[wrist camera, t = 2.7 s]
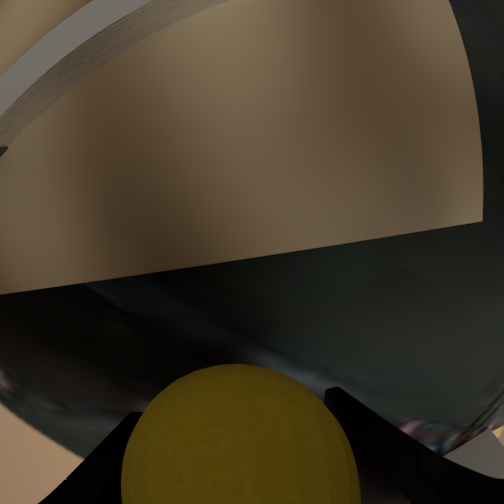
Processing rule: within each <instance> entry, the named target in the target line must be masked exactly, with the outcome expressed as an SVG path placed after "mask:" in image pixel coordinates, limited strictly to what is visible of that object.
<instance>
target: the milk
mask: <svg viewBox="0 0 504 504" xmlns="http://www.w3.org/2000/svg"><path fill="white" fill-rule="evenodd" d="M443 457H445V458H447V459H449V460H451V461H453V462H455V463H457V464H460V465H462V466H464V467H467V468H469V469H472V470H474V471H476V472H479V473H481V474H484V475H487V476H490V477H493V478H500V479H504V446H503V445H502V443H501V442H500V441H499V440H498V438H497V437H496V436H495V435H494V433H493V432H492V431H491V430H490V429H489V428H487V429H486V430H485V431H483V432H482V433H480V434H479V435H477V436H476V437H474V438H473V439H471V440H469V441H468V442H466V443H465V444H463V445H461V446H460V447H458V448H456V449H455V450H453V451H451V452H449V453H448V454H446V455H444V456H443Z"/></svg>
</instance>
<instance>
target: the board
mask: <svg viewBox="0 0 504 504" xmlns="http://www.w3.org/2000/svg"><path fill="white" fill-rule="evenodd" d="M91 1H93V0H0V78H1V77H2V76H3V74H4V73H5V72H6V71H7V70H8V69H9V68H10V67H11V66H12V65H13V64H14V63H15V62H16V61H17V60H18V59H19V58H20V57H21V56H22V55H24V54H25V53H26V52H27V51H28V50H29V49H30V48H31V47H32V46H33V45H35V44H36V43H37V42H38V41H39V40H40V39H41V38H43V37H44V36H45V35H46V34H47V33H49V32H50V31H51V30H52V29H54V28H55V27H56V26H57V25H59V24H60V23H61V22H63V21H64V20H65V19H67V18H68V17H69V16H71V15H72V14H74V13H75V12H76V11H78V10H79V9H81V8H82V7H84V6H85V5H87V4H88V3H90V2H91ZM482 216H483V162H482V146H481V135H480V126H479V117H478V110H477V104H476V98H475V92H474V87H473V81H472V77H471V72H470V68H469V63H468V59H467V55H466V52H465V48H464V44H463V41H462V38H461V34H460V31H459V28H458V25H457V22H456V19H455V16H454V13H453V11H452V8H451V5H450V3H449V0H230V1H227V2H224V3H222V4H219V5H216V6H214V7H211V8H209V9H206V10H204V11H202V12H199V13H197V14H195V15H192V16H190V17H188V18H186V19H183V20H181V21H179V22H177V23H175V24H173V25H171V26H169V27H167V28H165V29H163V30H161V31H159V32H157V33H155V34H153V35H152V36H150V37H148V38H146V39H144V40H143V41H141V42H139V43H137V44H136V45H134V46H132V47H131V48H129V49H127V50H126V51H124V52H122V53H121V54H119V55H118V56H116V57H115V58H113V59H112V60H110V61H109V62H107V63H106V64H104V65H103V66H101V67H100V68H98V69H97V70H95V71H94V72H93V73H91V74H90V75H88V76H87V77H86V78H84V79H83V80H82V81H80V82H79V83H78V84H76V85H75V86H74V87H73V88H71V89H70V90H69V91H68V92H66V93H65V94H64V95H63V96H61V97H60V98H59V99H58V100H57V101H56V102H54V103H53V104H52V105H51V106H50V107H49V108H48V109H46V110H45V111H44V112H43V113H42V114H41V115H40V116H39V117H38V118H37V119H35V120H34V121H33V122H32V123H31V124H30V125H29V126H28V127H27V128H26V129H25V130H24V131H23V132H22V133H21V134H20V135H19V136H18V137H17V138H16V139H15V140H14V141H13V143H12V144H11V145H10V146H9V147H8V150H7V151H6V152H5V153H4V154H3V155H2V156H1V157H0V294H8V293H15V292H22V291H29V290H36V289H43V288H50V287H57V286H64V285H71V284H78V283H85V282H92V281H99V280H106V279H113V278H120V277H127V276H134V275H140V274H147V273H154V272H161V271H167V270H174V269H181V268H188V267H194V266H201V265H208V264H214V263H221V262H227V261H234V260H241V259H247V258H254V257H260V256H267V255H273V254H280V253H286V252H293V251H299V250H306V249H312V248H319V247H325V246H331V245H338V244H344V243H350V242H357V241H363V240H369V239H376V238H382V237H388V236H394V235H401V234H407V233H413V232H419V231H426V230H432V229H438V228H444V227H450V226H456V225H462V224H468V223H474V222H481V221H482Z"/></svg>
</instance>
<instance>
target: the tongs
mask: <svg viewBox="0 0 504 504" xmlns="http://www.w3.org/2000/svg"><path fill="white" fill-rule="evenodd" d="M227 1H230V0H93V1H91V2H90V3H88V4H87V5H85V6H84V7H82V8H81V9H79V10H78V11H76V12H75V13H74V14H72V15H71V16H69V17H68V18H67V19H65V20H64V21H63V22H61V23H60V24H59V25H57V26H56V27H55V28H54V29H52V30H51V31H50V32H49V33H47V34H46V35H45V36H44V37H43V38H41V39H40V40H39V41H38V42H37V43H36V44H35V45H33V46H32V47H31V48H30V49H29V50H28V51H27V52H26V53H25V54H24V55H22V56H21V57H20V58H19V59H18V60H17V61H16V62H15V63H14V64H13V65H12V66H11V67H10V68H9V69H8V70H7V71H6V72H5V73H4V74H3V76H2V77H1V78H0V157H1V156H2V155H3V154H4V153H5V152H6V151H7V150H8V147H9V146H10V145H11V144H12V143H13V141H14V140H15V139H16V138H17V137H18V136H19V135H20V134H21V133H22V132H23V131H24V130H25V129H26V128H27V127H28V126H29V125H30V124H31V123H32V122H33V121H34V120H35V119H37V118H38V117H39V116H40V115H41V114H42V113H43V112H44V111H45V110H46V109H48V108H49V107H50V106H51V105H52V104H53V103H54V102H56V101H57V100H58V99H59V98H60V97H61V96H63V95H64V94H65V93H66V92H68V91H69V90H70V89H71V88H73V87H74V86H75V85H76V84H78V83H79V82H80V81H82V80H83V79H84V78H86V77H87V76H88V75H90V74H91V73H93V72H94V71H95V70H97V69H98V68H100V67H101V66H103V65H104V64H106V63H107V62H109V61H110V60H112V59H113V58H115V57H116V56H118V55H119V54H121V53H122V52H124V51H126V50H127V49H129V48H131V47H132V46H134V45H136V44H137V43H139V42H141V41H143V40H144V39H146V38H148V37H150V36H152V35H153V34H155V33H157V32H159V31H161V30H163V29H165V28H167V27H169V26H171V25H173V24H175V23H177V22H179V21H181V20H183V19H186V18H188V17H190V16H192V15H195V14H197V13H199V12H202V11H204V10H206V9H209V8H211V7H214V6H216V5H219V4H222V3H224V2H227Z"/></svg>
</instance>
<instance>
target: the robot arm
mask: <svg viewBox="0 0 504 504" xmlns="http://www.w3.org/2000/svg"><path fill="white" fill-rule="evenodd" d="M324 405H325V406H326V407H327V408H328V409H329V410H330V412H331V413H332V414H333V415H334V417H335V418H336V419H337V421H338V422H339V424H340V425H341V427H342V429H343V430H344V432H345V434H346V437H347V439H348V441H349V443H350V446H351V449H352V452H353V454H354V458H355V462H356V466H357V471H358V476H359V482H360V489H361V501H362V504H504V479H500V478H493V477H490V476H487V475H484V474H481V473H479V472H476V471H474V470H472V469H469V468H467V467H464V466H462V465H460V464H457V463H455V462H453V461H451V460H449V459H447V458H445V457H443V456H441V455H439V454H438V453H436V452H434V451H432V450H431V449H429V448H428V447H426V446H424V445H423V444H421V443H420V444H419V442H418V441H417V440H415V439H413V438H412V437H410V436H409V435H407V434H406V433H404V432H403V431H401V430H400V429H398V428H397V427H395V426H394V425H392V424H391V423H390V422H388V421H387V420H385V419H384V418H382V417H381V416H379V415H378V414H376V413H375V412H374V411H372V410H371V409H369V408H368V407H366V406H365V405H364V404H362V403H361V402H359V401H358V400H357V399H355V398H354V397H352V396H351V395H350V394H348V393H347V392H345V391H344V390H343V389H341V388H340V387H333V388H329V389H326V390H325V397H324ZM142 414H143V412H130V413H129V414H128V415H127V416H126V417H125V418H124V419H123V420H122V421H121V422H120V423H119V424H118V425H117V426H116V428H115V429H114V430H113V431H112V432H111V433H110V434H109V435H108V436H107V437H106V438H105V439H104V440H103V441H102V442H101V443H100V444H99V445H98V446H97V447H96V448H95V449H94V450H93V451H92V452H91V453H90V454H89V455H88V456H87V457H86V459H85V460H84V461H83V462H82V463H81V464H80V465H79V466H78V467H77V468H76V469H75V470H74V471H73V472H72V473H71V474H70V475H69V476H68V477H67V478H66V480H64V481H63V482H62V483H61V484H60V485H59V486H58V487H57V488H56V489H55V490H54V491H52V492H51V493H50V494H49V495H48V496H47V497H46V498H44V499H43V500H42V501H41V502H39V503H38V504H122V497H121V474H122V464H123V459H124V454H125V450H126V447H127V443H128V441H129V439H130V436H131V434H132V432H133V430H134V428H135V426H136V424H137V423H138V421H139V419H140V417H141V416H142Z"/></svg>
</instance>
